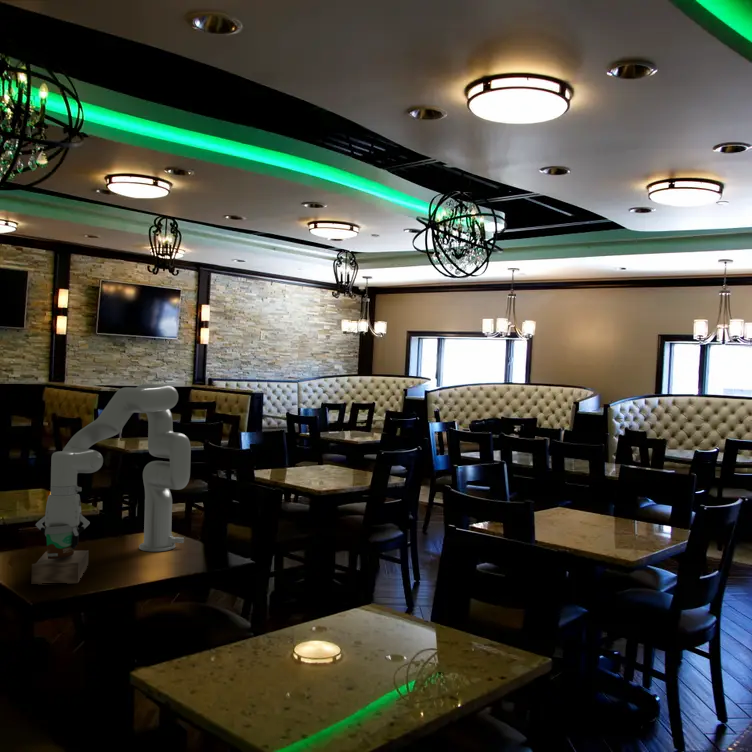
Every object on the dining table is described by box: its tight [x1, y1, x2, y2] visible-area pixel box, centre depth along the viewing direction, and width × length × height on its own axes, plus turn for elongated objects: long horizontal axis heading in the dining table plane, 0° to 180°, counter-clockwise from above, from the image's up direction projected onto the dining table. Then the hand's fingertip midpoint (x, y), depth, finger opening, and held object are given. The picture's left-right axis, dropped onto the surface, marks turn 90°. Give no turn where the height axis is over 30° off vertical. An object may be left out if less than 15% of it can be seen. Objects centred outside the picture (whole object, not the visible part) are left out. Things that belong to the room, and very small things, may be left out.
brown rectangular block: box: [30, 550, 90, 585], centre depth 228 cm, size 13×20×6 cm, turn 13°
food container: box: [44, 525, 77, 559], centre depth 229 cm, size 12×6×10 cm, turn 171°
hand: (62, 547), depth 228 cm, fingers open, 6 cm apart
